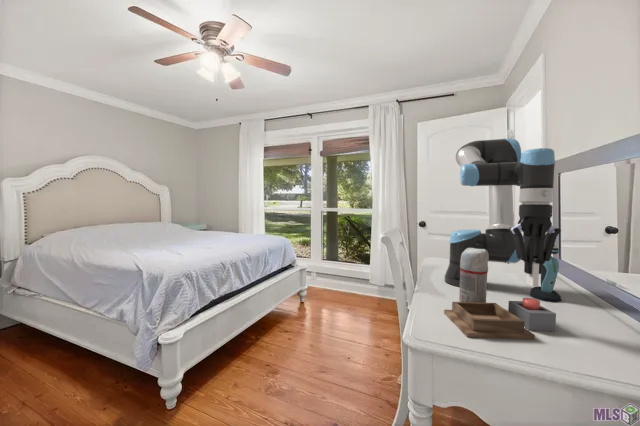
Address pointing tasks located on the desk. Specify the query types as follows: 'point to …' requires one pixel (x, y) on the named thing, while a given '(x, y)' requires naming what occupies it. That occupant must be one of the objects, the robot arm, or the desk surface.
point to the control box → (534, 317)
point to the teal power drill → (548, 281)
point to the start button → (531, 304)
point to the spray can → (473, 275)
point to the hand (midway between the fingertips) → (532, 284)
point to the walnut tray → (487, 321)
